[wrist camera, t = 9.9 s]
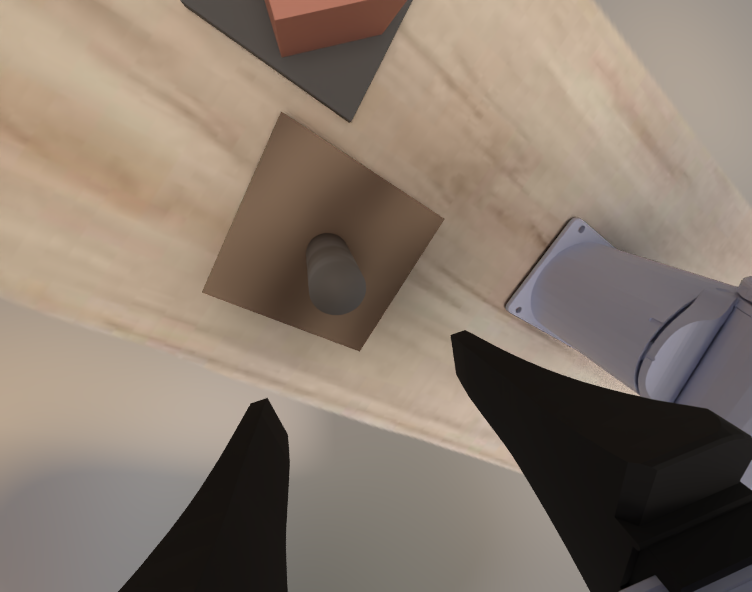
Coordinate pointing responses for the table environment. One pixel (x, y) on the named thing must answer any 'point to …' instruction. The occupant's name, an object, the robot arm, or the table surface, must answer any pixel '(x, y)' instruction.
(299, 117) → the table surface
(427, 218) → the post block
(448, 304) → the table surface
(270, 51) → the mat
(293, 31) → the terracotta cube
